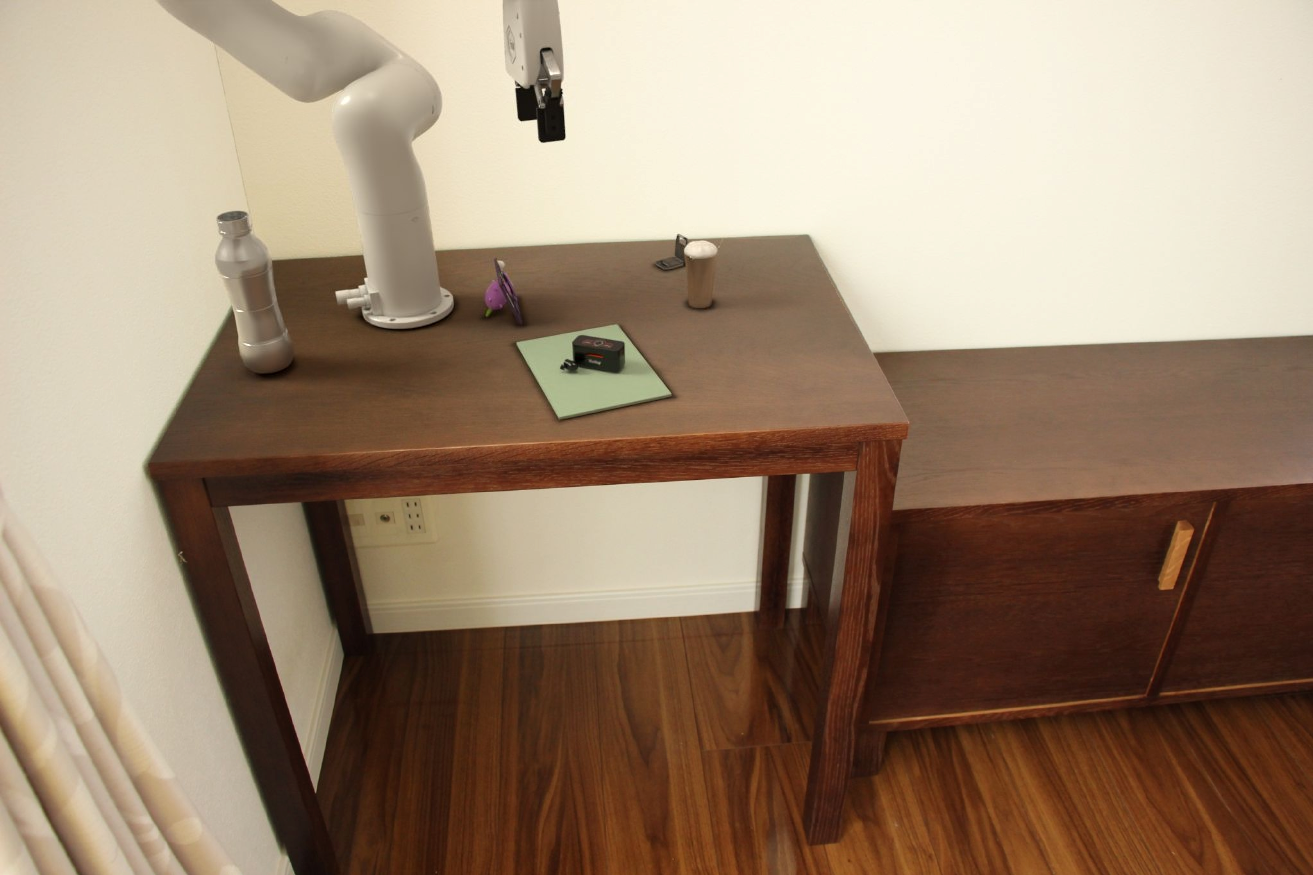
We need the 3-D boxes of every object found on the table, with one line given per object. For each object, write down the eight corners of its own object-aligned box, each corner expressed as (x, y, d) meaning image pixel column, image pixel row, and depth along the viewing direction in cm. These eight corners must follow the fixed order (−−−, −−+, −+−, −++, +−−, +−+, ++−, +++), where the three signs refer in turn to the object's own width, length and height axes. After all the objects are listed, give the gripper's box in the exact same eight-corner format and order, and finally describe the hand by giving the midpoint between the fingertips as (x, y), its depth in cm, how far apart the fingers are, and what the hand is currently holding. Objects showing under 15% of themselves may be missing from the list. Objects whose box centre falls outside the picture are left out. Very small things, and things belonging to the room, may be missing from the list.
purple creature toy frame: (506, 281, 130) (501, 255, 138) (470, 296, 131) (467, 270, 138) (527, 322, 134) (521, 295, 142) (492, 337, 134) (488, 309, 142)
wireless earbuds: (574, 356, 126) (573, 333, 124) (626, 364, 124) (626, 341, 122) (559, 372, 122) (558, 349, 121) (612, 382, 120) (611, 358, 119)
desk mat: (559, 420, 114) (559, 417, 114) (516, 344, 130) (516, 342, 130) (671, 396, 118) (671, 393, 118) (617, 326, 134) (617, 323, 134)
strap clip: (699, 252, 155) (699, 226, 153) (710, 258, 153) (711, 232, 151) (653, 264, 151) (653, 238, 149) (664, 271, 149) (664, 244, 147)
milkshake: (719, 312, 137) (720, 244, 132) (681, 309, 138) (681, 242, 133) (723, 298, 141) (725, 232, 135) (686, 295, 142) (687, 229, 136)
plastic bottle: (248, 384, 122) (206, 230, 111) (240, 361, 127) (199, 212, 116) (302, 372, 124) (266, 220, 113) (292, 350, 129) (256, 202, 118)
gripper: (480, -32, 117) (494, 115, 126) (516, -9, 103) (529, 154, 112) (541, -36, 119) (551, 109, 128) (584, -14, 105) (592, 146, 115)
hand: (541, 130), depth 120 cm, fingers open, 9 cm apart
